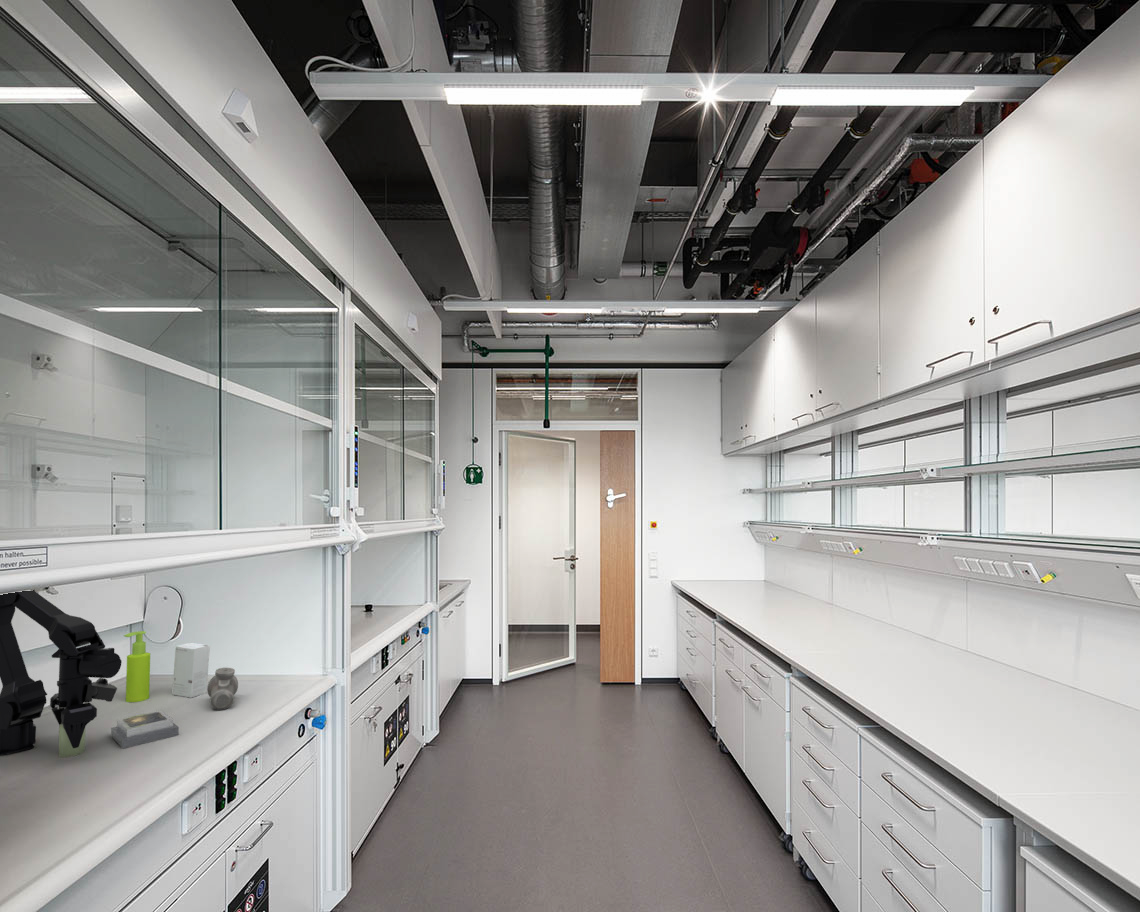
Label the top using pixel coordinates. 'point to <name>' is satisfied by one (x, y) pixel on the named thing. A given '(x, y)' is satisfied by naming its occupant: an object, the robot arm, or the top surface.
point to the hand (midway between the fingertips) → (71, 742)
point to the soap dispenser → (138, 670)
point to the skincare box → (190, 669)
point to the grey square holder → (143, 729)
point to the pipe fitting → (222, 688)
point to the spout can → (69, 744)
